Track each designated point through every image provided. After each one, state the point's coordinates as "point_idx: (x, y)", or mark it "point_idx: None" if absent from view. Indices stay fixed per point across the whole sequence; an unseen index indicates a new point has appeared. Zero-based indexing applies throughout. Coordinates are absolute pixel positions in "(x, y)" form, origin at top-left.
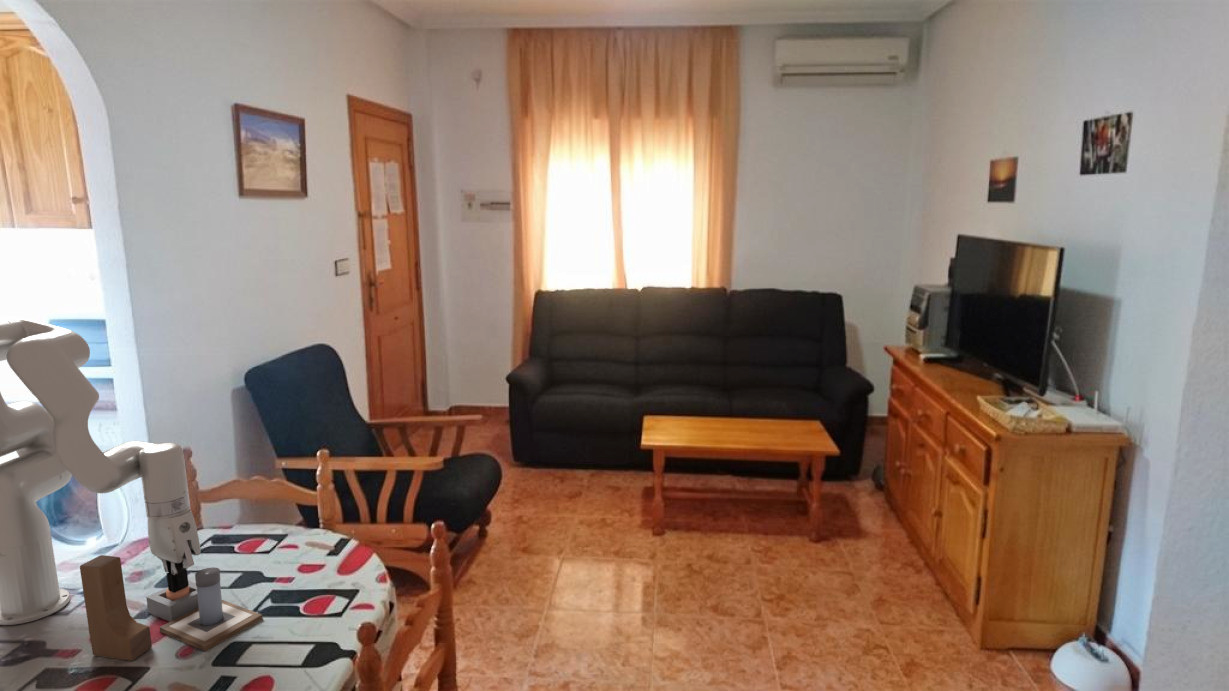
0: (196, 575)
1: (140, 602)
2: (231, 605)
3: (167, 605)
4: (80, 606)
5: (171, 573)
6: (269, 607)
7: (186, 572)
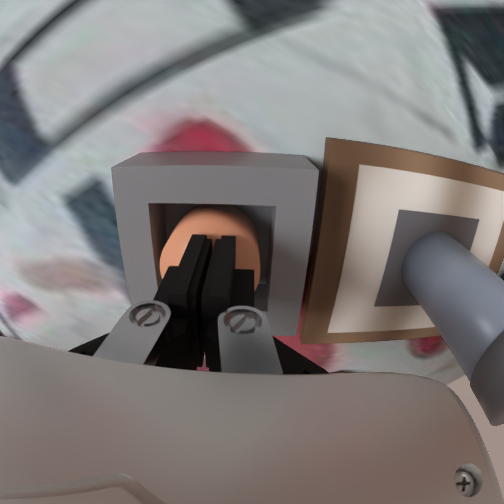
0: (500, 422)
1: (69, 260)
2: (426, 165)
3: (276, 334)
4: (7, 321)
5: (199, 359)
6: (499, 115)
7: (229, 280)
